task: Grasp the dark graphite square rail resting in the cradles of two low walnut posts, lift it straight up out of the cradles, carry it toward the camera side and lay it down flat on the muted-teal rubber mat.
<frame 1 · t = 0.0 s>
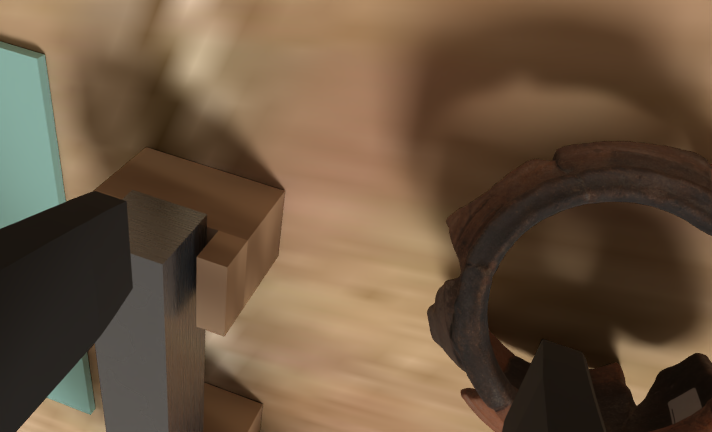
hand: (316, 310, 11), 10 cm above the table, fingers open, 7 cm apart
rail: (173, 367, 25), point 3 cm above the table, touching standard a, standard b
standard b: (213, 202, 24), on the table
standard a: (208, 404, 31), on the table
brown piece: (615, 277, 21), on the table
mat: (6, 244, 29), on the table
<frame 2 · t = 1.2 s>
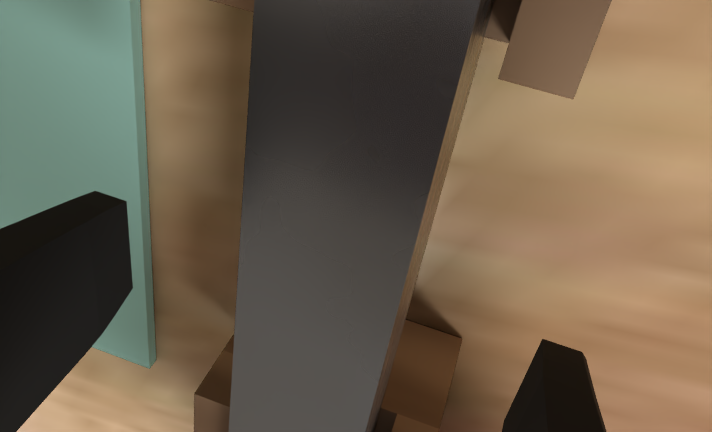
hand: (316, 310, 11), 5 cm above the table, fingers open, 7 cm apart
rail: (357, 240, 13), point 3 cm above the table, touching standard a, standard b
standard a: (357, 343, 19), on the table
mat: (20, 53, 17), on the table
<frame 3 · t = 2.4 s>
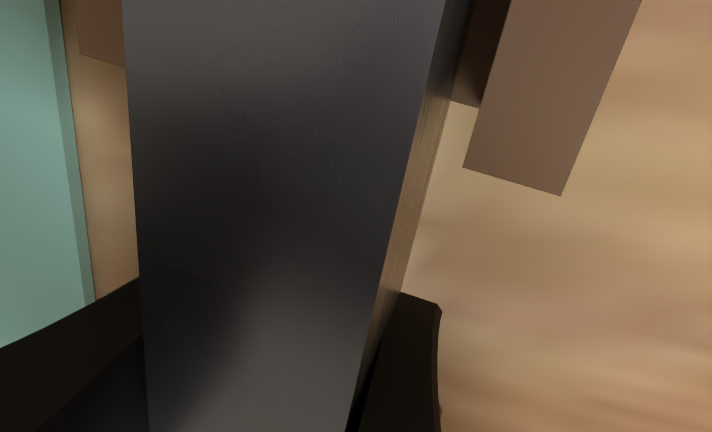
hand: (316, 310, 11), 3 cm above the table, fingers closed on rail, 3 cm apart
rail: (308, 325, 11), point 3 cm above the table, touching gripper, standard a, standard b
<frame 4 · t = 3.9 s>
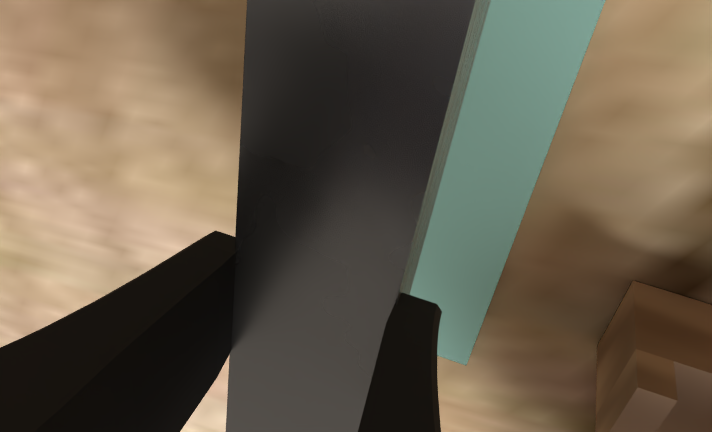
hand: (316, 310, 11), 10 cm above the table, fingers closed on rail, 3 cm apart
rail: (354, 237, 13), point 8 cm above the table, touching gripper
standard a: (700, 342, 21), on the table
mat: (436, 84, 19), on the table
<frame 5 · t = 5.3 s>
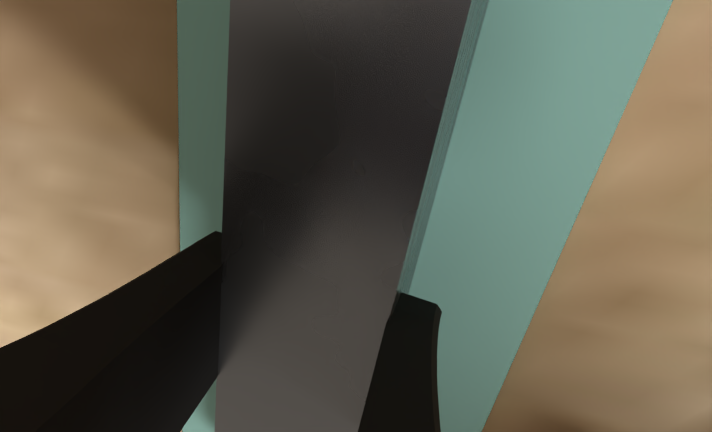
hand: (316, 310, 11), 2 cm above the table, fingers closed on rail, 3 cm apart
rail: (347, 252, 12), resting on mat, touching gripper
mat: (354, 242, 13), on the table
when the fingers open (2 cm above the table, at t = 5.7 s): rail stays where it is, resting on mat.
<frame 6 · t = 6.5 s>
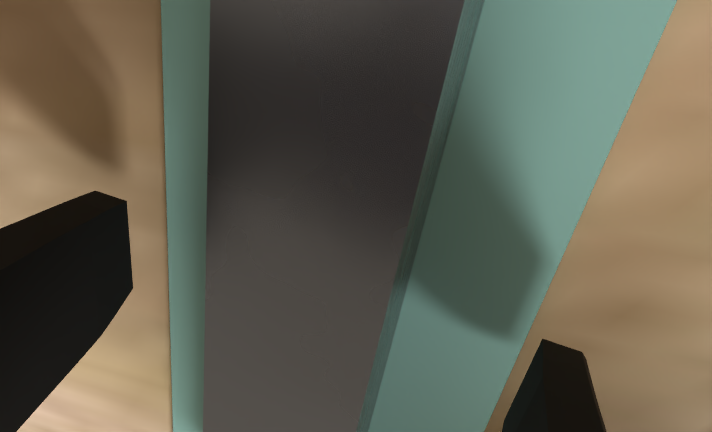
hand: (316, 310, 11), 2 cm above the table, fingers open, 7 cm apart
rail: (338, 264, 12), resting on mat
mat: (346, 253, 12), on the table
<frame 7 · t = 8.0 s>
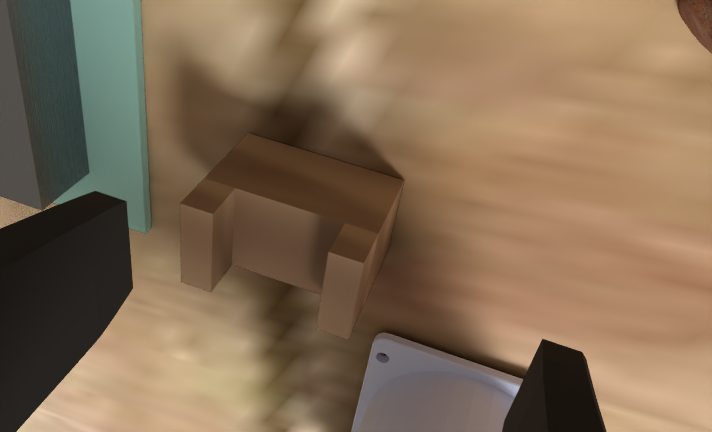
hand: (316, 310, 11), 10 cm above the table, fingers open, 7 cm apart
standard a: (319, 193, 22), on the table
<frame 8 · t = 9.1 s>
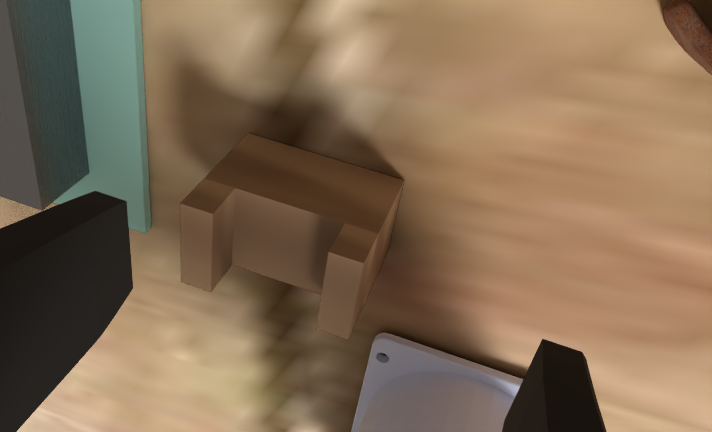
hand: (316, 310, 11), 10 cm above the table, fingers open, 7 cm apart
standard a: (319, 193, 22), on the table
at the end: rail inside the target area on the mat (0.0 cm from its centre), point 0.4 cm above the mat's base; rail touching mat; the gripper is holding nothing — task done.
